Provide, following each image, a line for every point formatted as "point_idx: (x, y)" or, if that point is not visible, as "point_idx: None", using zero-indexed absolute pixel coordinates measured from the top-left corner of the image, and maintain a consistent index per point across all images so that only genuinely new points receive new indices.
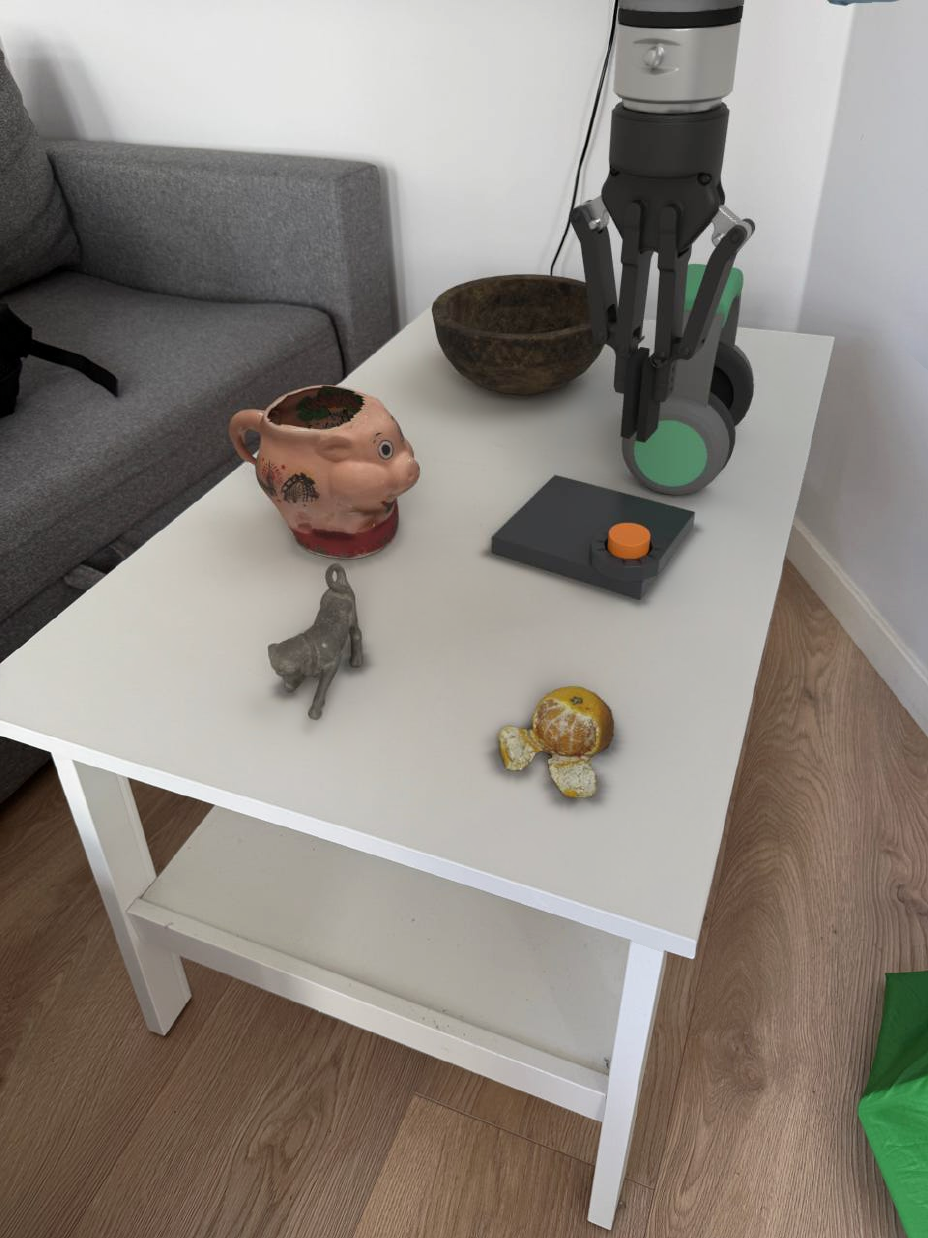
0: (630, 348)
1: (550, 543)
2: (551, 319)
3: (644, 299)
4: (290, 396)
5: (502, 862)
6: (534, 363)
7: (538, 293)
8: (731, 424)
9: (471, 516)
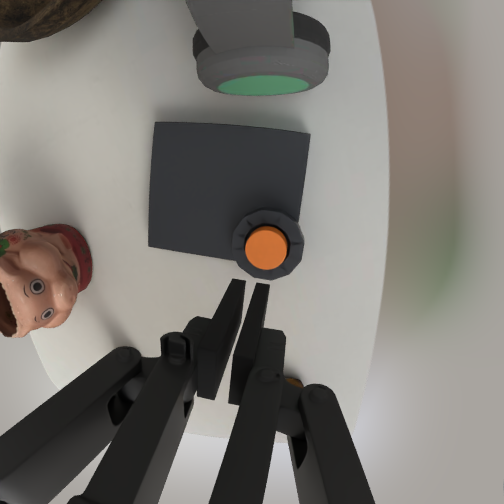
0: (193, 400)
1: (195, 239)
2: None
3: (165, 436)
4: None
5: (275, 440)
6: (75, 9)
7: None
8: (326, 38)
9: (118, 196)
